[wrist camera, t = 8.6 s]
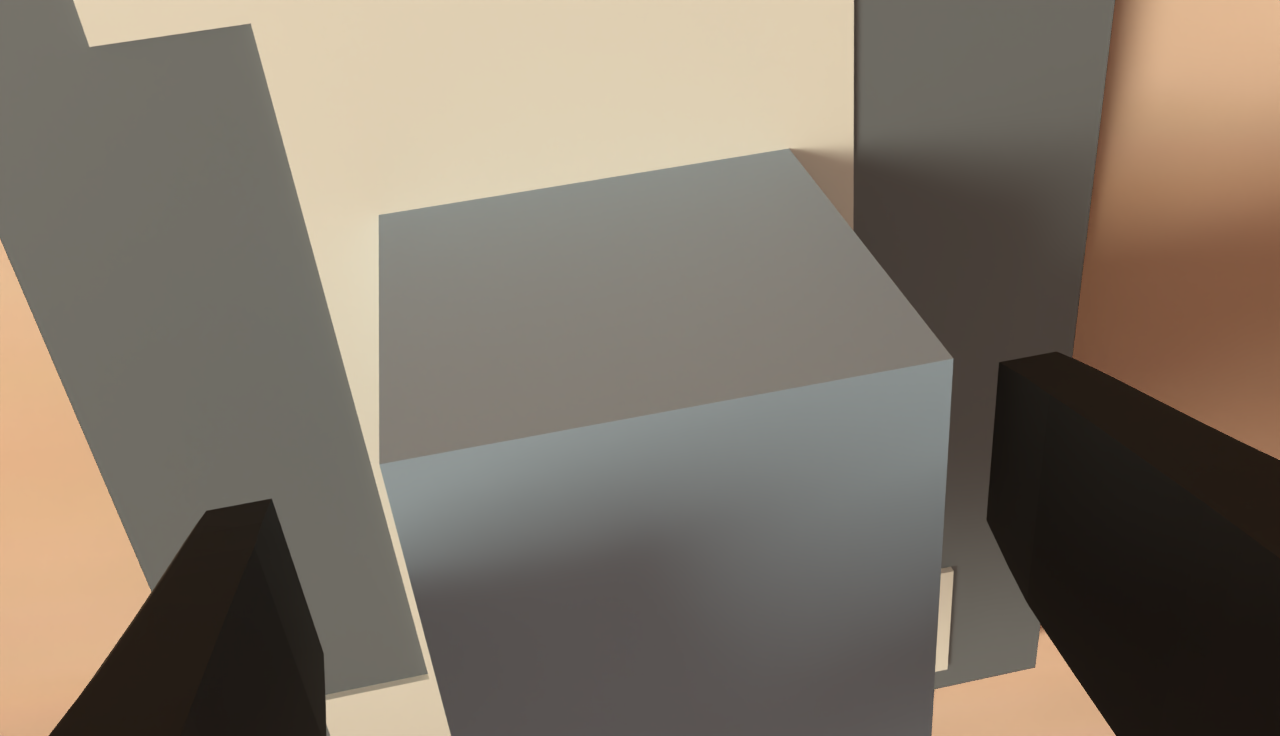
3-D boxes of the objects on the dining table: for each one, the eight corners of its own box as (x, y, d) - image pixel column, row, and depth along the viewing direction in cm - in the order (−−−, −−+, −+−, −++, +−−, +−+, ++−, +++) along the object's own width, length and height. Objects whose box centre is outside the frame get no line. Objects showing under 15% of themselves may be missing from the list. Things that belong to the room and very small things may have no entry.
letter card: (260, 791, 18) (255, 841, 17) (-163, -237, 11) (-205, -227, 10) (1012, 631, 19) (1038, 672, 19) (1117, -391, 12) (1167, -392, 11)
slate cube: (453, 538, 15) (478, 840, 11) (378, 214, 13) (378, 464, 9) (797, 471, 16) (931, 741, 12) (789, 148, 13) (953, 359, 9)
